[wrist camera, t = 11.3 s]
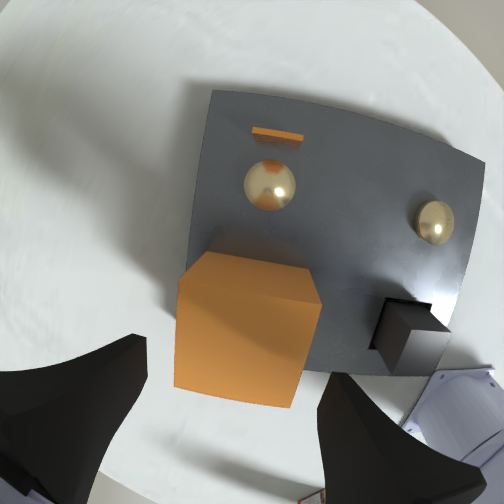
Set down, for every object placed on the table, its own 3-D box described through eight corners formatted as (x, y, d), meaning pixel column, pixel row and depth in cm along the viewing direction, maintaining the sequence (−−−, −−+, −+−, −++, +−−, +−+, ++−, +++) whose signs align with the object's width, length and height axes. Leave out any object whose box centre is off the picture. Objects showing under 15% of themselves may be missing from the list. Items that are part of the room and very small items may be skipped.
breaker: (423, 305, 16) (451, 332, 12) (408, 344, 17) (431, 376, 13) (386, 300, 16) (411, 329, 13) (372, 341, 17) (391, 376, 13)
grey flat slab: (465, 163, 16) (503, 162, 11) (412, 359, 19) (434, 391, 15) (220, 101, 16) (204, 78, 12) (190, 330, 20) (171, 364, 16)
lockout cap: (308, 269, 16) (322, 304, 11) (287, 354, 17) (289, 408, 12) (206, 250, 16) (178, 279, 11) (197, 338, 17) (173, 386, 13)
